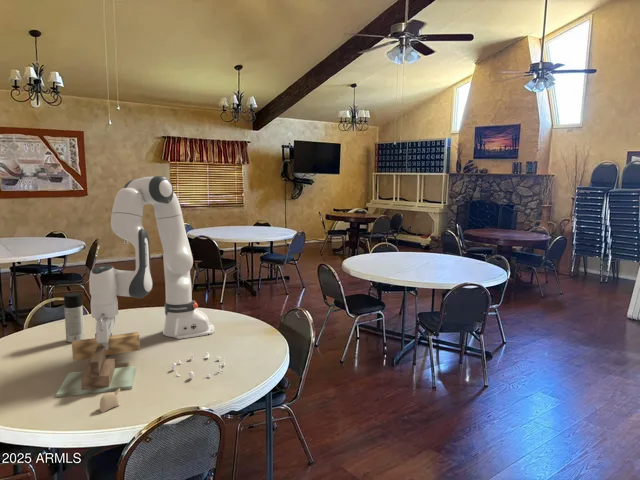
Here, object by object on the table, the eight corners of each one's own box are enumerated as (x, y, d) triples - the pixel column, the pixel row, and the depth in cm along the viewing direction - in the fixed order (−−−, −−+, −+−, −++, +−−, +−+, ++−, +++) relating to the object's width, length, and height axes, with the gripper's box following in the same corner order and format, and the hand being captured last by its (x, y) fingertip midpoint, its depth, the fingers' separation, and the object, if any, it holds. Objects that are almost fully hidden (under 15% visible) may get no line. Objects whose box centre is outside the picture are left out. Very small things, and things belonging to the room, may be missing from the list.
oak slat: (139, 346, 168) (138, 331, 167) (140, 349, 165) (139, 334, 164) (73, 357, 158) (72, 341, 157) (73, 360, 155) (71, 344, 154)
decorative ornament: (96, 409, 131) (95, 395, 131) (118, 400, 137) (118, 387, 136) (102, 413, 129) (101, 399, 129) (124, 403, 135) (123, 390, 134)
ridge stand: (136, 368, 160) (135, 342, 158) (132, 388, 145) (131, 359, 143) (68, 375, 153) (66, 348, 152) (56, 397, 138) (54, 367, 137)
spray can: (87, 337, 188) (85, 292, 186) (77, 343, 182) (75, 296, 179) (73, 336, 189) (70, 291, 186) (62, 342, 182) (59, 295, 180)
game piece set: (207, 385, 149) (207, 374, 149) (159, 374, 156) (159, 364, 156) (236, 363, 167) (236, 353, 167) (192, 354, 174) (192, 345, 174)
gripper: (110, 318, 150) (112, 356, 152) (117, 301, 169) (119, 336, 171) (90, 320, 148) (92, 358, 150) (99, 303, 167) (101, 337, 169)
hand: (106, 346), depth 161 cm, fingers closed on oak slat, 4 cm apart
